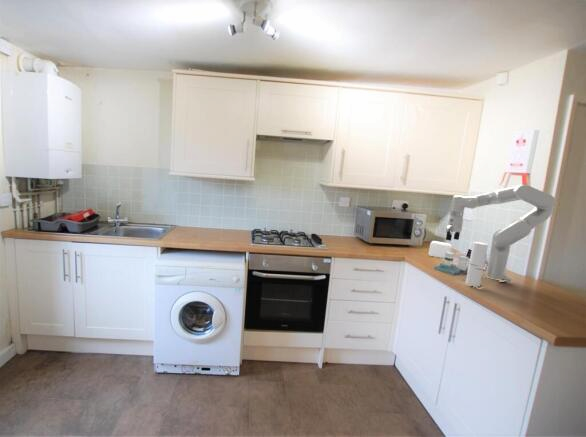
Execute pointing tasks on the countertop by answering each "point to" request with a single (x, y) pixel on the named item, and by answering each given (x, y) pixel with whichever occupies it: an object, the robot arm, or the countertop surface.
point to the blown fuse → (448, 258)
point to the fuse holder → (456, 268)
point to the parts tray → (447, 269)
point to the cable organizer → (439, 249)
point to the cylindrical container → (476, 263)
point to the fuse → (462, 262)
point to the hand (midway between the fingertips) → (452, 239)
